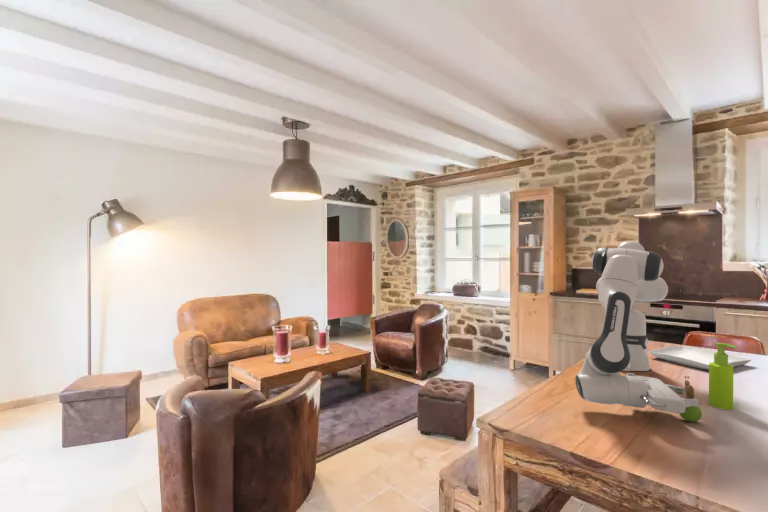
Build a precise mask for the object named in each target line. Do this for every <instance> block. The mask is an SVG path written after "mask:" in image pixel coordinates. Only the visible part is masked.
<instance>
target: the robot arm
mask: <svg viewBox="0 0 768 512" xmlns="http://www.w3.org/2000/svg"><path fill="white" fill-rule="evenodd" d="M663 261H664V260H663V258H662V256H661V255H660V254H659V253H658V252H654V251H651V250H649V251H646V249H645V247H644V246H643V245H642V244H641V243H639V242H638V241H634V240H627V241H623V242H621V243H619V245H617V248H616V247H611V248H609V247H599V248H598V249H596V250H595V252H594V253H593V255H592V257H591V267H592V270H593V271H594V273H595V274H597V275H600V277H599V279H598V280H597V281H596V284H595V289H596V292H597V294H598V297H597V298H598V302H599V304H600V305H601V306H602V307H603V308H604V311H605V313H604V320H603V324H602V330H601V334H600V336H599V337H598V338H597V340H595V342H594V343H593V344H592V346H591V347H590V348H589V349H588V351H587V352H586V353H585V356H584V361H583V363H582V366H581V368H580V370H579V372H578V373H577V374H576V375H575V386H576V390H577V393H578V394H579V396H580V397H581V399H583V400H584V401H587V402H590V403H594V404H602V405H621V406H622V407H623V406H624V407H631V408H641V409H642V408H643V409H644V408H645V407H647V406H648V405H649V406H650V407H651V408H652V409H654V410H657V411H661V412H665V413H666V412H667V413H674V414H679V413H685V407H690V406H696V407H698V406H699V407H700V400H698V399H697V398H695V397H694V398H689V399H686V398H684V397H682V396H681V395H685V388H683V387H680V386H675V385H671V384H668V383H667V384H665V383H664V382H663V381H662V380H661V379H659V378H656V377H652V376H645V375H636V374H634V373H632V372H646V371H647V372H648V371H650V370H651V369H652V368H651V366H650V362H649V358H648V350H647V349H648V343H649V342H648V334H647V318H646V315H645V313H643V312H641V311H639V310H638V309H635V308H633V306H634V303H635V302H642V303H643V302H644V303H652V302H655V303H656V302H662V301H663V300H664V299H665V298H666V297H667V295H668V292H669V286H668V284H667V282H666V280H665V279H664V278H662V277H660V276H661V275H662V273H663V271H664V262H663ZM621 372H629V373H626V375H622V374H621ZM677 394H678V395H680V396H681V397H682V398H681V397H680V396H678V395H677Z"/></svg>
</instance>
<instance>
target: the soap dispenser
mask: <svg viewBox="0 0 768 512" xmlns="http://www.w3.org/2000/svg"><path fill="white" fill-rule="evenodd" d="M714 346H717V351H715V352H716V353H714V362H711V363H709V370H708V405H709V406H711V407H713V408H717V409H720V410H727V411H728V410H733V409H734V367H733V366H732V365H729V364H728V355H729V354H728V353H727V352H726V351H725V347H727V348H730V349H739V346H736V345H733V344H730V343H726V342H725V343H724V342H714Z"/></svg>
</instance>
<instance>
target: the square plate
mask: <svg viewBox="0 0 768 512" xmlns="http://www.w3.org/2000/svg"><path fill="white" fill-rule="evenodd" d="M716 352H717V351H715V350H710V349H703V348H697V347H693V346H686V345H677V346H669V347H668V346H667V347H662V348H657V349H651V350H647V353H649V354H650V355H652V356H653V357H655V358H658V359H661V360H664V361H667V362H672V363H675V364H678V365H679V364H680V365H683V366H687V365H688V367H691V368H695V369H696V368H697V369H701V370H704V371H705V370H706V371H709V363H711V362H714V353H716ZM751 361H752V359H750V358H745V357H741V356H736V355H731V354H728V364H729V365H732V366H733V368H734V367H739V366H744V365H747V364H749V363H750V362H751Z"/></svg>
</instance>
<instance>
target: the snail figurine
mask: <svg viewBox="0 0 768 512" xmlns="http://www.w3.org/2000/svg"><path fill="white" fill-rule="evenodd" d="M684 379H685V380H684V395H685V399H689V398H695V389H694V387H693V385H691V382H690V380H689V379H690V376H686V375H684ZM702 411H703V410H702V409H701V408H700V405H699V406H698V407H696V406H690V407H685V413H678V414H679V416H680V417H681V418H682V419H684V420H685V421H686V422H691V423H694V422H698V421H700V420H701V419H702V416H703V412H702Z"/></svg>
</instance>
